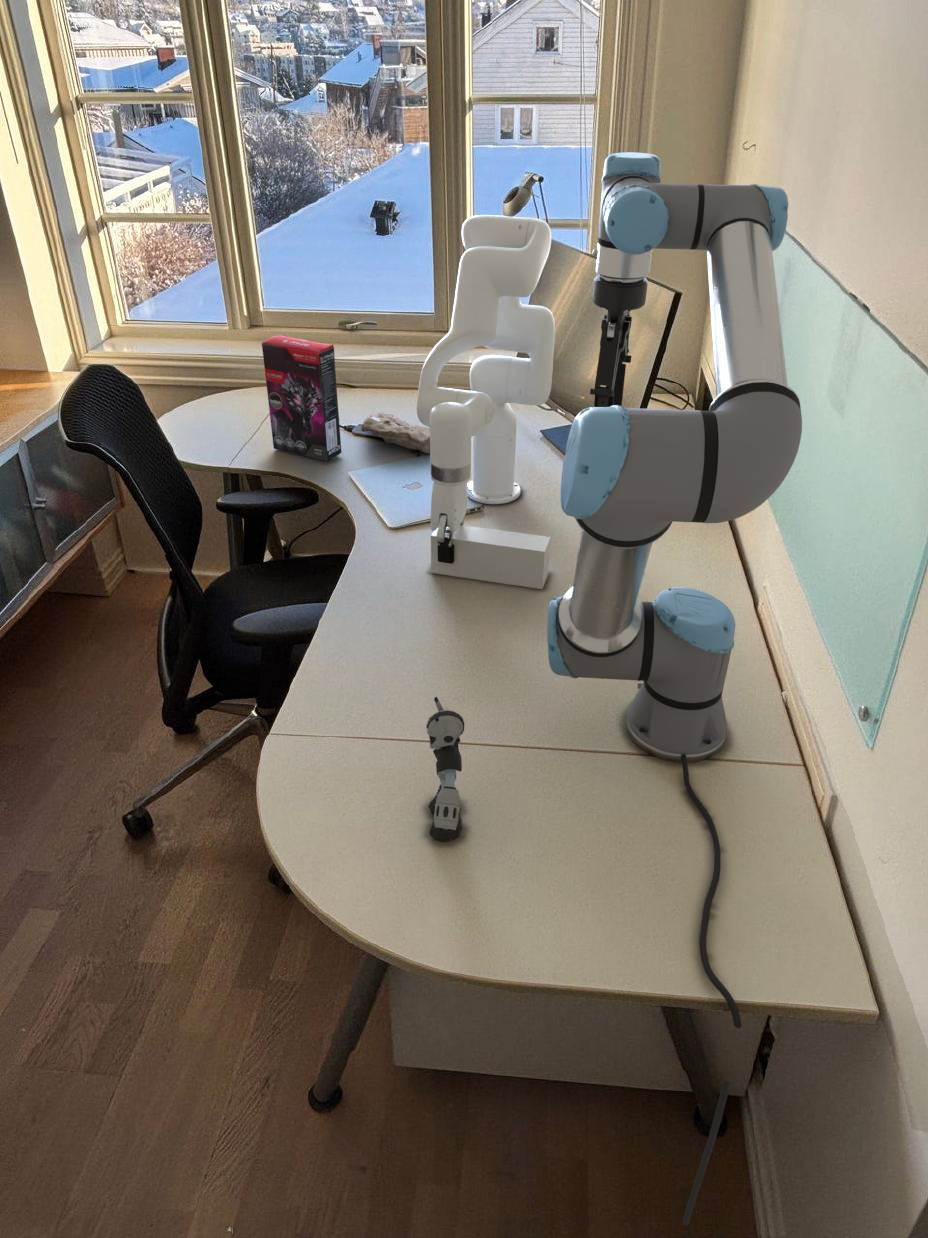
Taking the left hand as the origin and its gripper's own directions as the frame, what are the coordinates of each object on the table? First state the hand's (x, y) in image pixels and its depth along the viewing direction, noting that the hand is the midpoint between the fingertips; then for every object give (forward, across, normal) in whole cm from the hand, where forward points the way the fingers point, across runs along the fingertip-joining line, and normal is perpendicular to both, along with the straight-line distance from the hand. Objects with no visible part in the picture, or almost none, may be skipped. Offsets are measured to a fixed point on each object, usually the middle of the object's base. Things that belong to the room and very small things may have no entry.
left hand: (450, 553), depth 182 cm
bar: (+3, 0, +8) cm, 9 cm away
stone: (+3, -56, -30) cm, 64 cm away
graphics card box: (+3, -44, -50) cm, 67 cm away
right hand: (-37, +17, +30) cm, 51 cm away
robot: (+3, +66, +18) cm, 68 cm away
